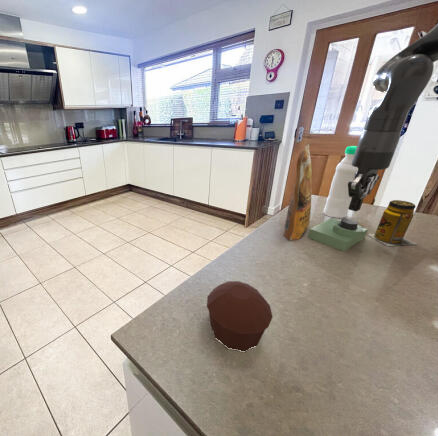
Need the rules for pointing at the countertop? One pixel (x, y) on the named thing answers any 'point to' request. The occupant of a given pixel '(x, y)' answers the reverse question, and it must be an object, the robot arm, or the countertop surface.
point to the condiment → (395, 223)
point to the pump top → (348, 224)
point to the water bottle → (341, 186)
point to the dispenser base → (336, 234)
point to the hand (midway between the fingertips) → (353, 209)
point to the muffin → (238, 314)
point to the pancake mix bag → (300, 198)
